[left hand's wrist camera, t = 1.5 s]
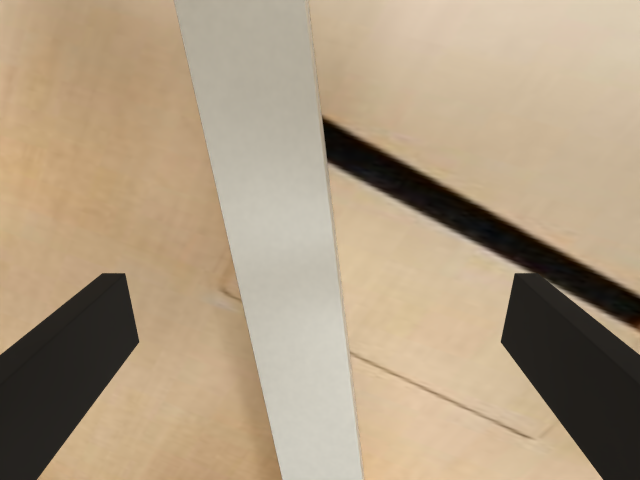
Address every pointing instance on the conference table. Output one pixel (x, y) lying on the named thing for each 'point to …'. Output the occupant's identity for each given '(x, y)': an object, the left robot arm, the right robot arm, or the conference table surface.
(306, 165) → the post
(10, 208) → the conference table surface
